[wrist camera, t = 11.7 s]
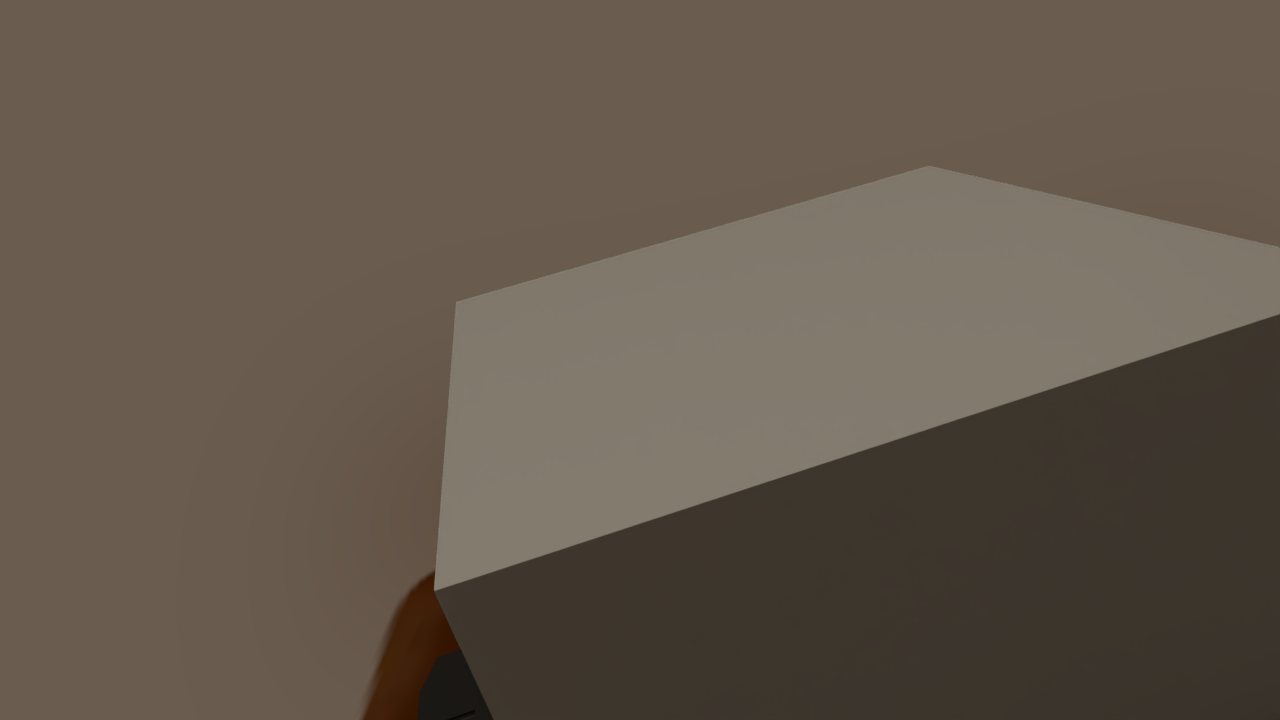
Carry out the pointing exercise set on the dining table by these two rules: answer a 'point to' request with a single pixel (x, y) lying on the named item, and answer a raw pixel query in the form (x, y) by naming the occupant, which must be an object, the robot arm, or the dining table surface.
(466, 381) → the tall grey brick
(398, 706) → the dining table surface
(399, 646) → the dining table surface
